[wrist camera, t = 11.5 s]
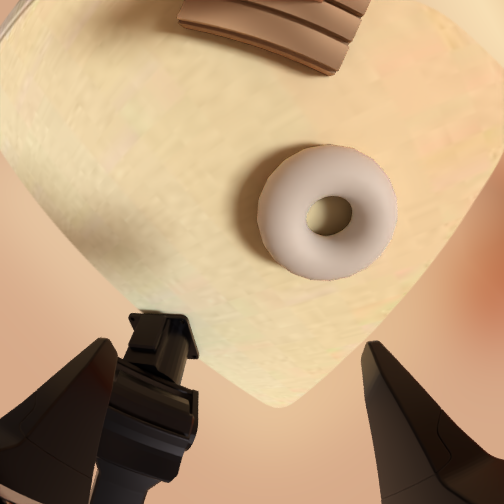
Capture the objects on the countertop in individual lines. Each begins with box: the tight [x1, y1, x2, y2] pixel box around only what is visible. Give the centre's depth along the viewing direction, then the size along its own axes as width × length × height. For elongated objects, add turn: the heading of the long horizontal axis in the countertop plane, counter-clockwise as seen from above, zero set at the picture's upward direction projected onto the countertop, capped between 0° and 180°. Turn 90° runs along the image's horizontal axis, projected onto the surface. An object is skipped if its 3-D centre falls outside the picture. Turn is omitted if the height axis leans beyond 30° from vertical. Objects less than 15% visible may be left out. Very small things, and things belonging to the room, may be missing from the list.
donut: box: [257, 144, 397, 281], centre depth 18 cm, size 10×4×10 cm
